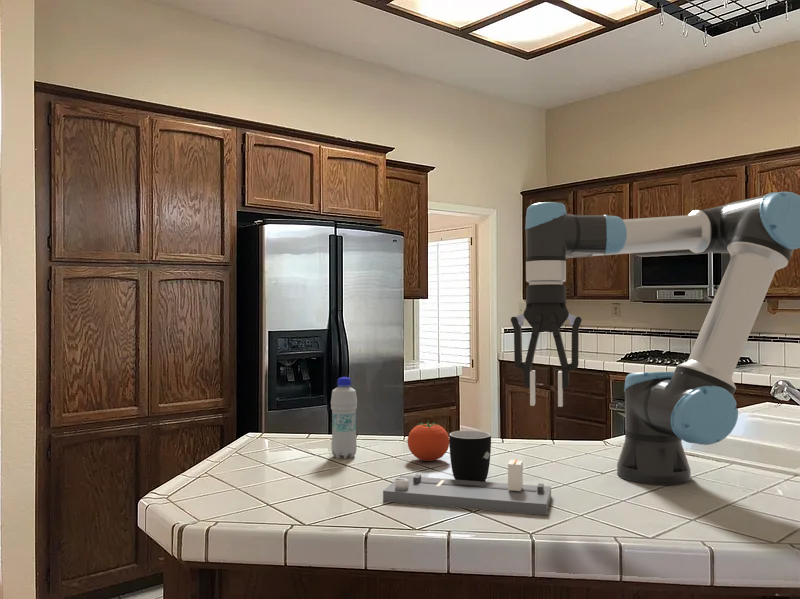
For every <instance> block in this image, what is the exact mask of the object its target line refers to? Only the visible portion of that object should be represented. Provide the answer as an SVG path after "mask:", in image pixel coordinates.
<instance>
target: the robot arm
mask: <svg viewBox="0 0 800 599" xmlns="http://www.w3.org/2000/svg"><path fill="white" fill-rule="evenodd" d="M567 212H568V211H567V208H566V205H565V204H564V203H561V202H557V201H556V202H555V201H544V202H543V201H542V202H536V203H533V204H530V205H529V206H528V207H527V209H526V216H525V227H524V230H525V249H526V250H525V253H526V254H525V256H526V257H525V258H526V259H525V282H526V283H528V284H527V286H526V287H525V300H526V301H525V309H524V311H523V313H521V314H518V315H515V316H511V317H510V323H511V326H512V327H513V347H514V348H513V351H514V353H513V354H514V357H513V358H514V359H513V360H514V367H515V368H518V369H520V370H523V379H524V380H523V381H524V382H523V383H524V384H523V385H524V388H529V405H530V407H531V406H532V407H534V406H535V405H536V370H534V369H533V370H532V366H533V361H534V359H535V353H536V349H537V344H538V341H539V336H540V334H541V333H545V332H547V333H552V335H553V338H554V343H555V347H556V352H557V355H558V359H559V364H560V367H561V370H558V372H557V407H560V408H562V407H563V406H564V393H563V392H564V389H565V390H568V389H569V386H570V371H573V370H576V369H578V368H579V356H580V355H579V350H580V349H579V348H580V347H579V339H580V338H579V333H580V332H579V331H580V326H581V324H582V322H583V318H582V316H577V315H573V314H572V313H570V312H569V310H568V308H567V287H566V284H564V283H565V282H566V281H567V259H574V258H587V257H596V256H612V255H613V256H614V255H622V254H623V255H625V254H638V253H639V254H641V253H653V252H654V253H656V252H667V251H668V252H669V251H680V250H683V251H684V250H690V252H692V253H694V254H701V253H702V254H705V253H708V254H709V253H713V254H717V253H718V254H729V255H730V260H729V262H728V265H727V268H726V269H725V271H724V275H723V276H722V279H721V281H720V284H719V286H718V288H717V290H716V293H715V295H714V298H713V300H712V302H711V305H710V307H709V309H708V312H707V315H706V317H705V319H704V322H703V324H702V326H701V327H700V331H699V333H698V336H697V338H696V341H695V343H694V345H693V347H692V350H691V352H690V354H689V357H688V358H687V361H684V362H682V363H679V364H677V365H676V367H675V369H674V371H648V372H631V373H628V374H627V375H626V376H625V379H624V380H625V381H624V388H623V392H624V430H625V431H624V442H623V446H622V448H621V451H620V454H619V457H618V459H617V464H616V466H617V467H616V468H617V469H616V474H617V475H618V477H620V478H623V479H625V480H627V481H631V482H635V483H641V484H647V485H655V486H658V485H659V486H673V485H674V486H675V485H681V484H686V483H688V482H690V481H691V477H692V476H691V475H692V474H691V467H690V464H689V461H688V458H687V456H686V455H687V454H686V453H685V450H684V446H683V442H686V443H687V444H688V443H689V444H697V445H703V446H707V445H714V444H717V443H719V442H721V441H723V440H724V439H726V438H727V437H728V436H730V434H731V433H732V432H733V430H734V428H735V427H736V424H737V422H738V419H739V409H738V408H737V401H736V399H735V397H734V395H735V392H736V390H737V387H736V384H735V383H734V381H733V378H732V377H733V375H734V373H735V370H736V368H737V365H738V362H739V361H740V358H741V356H742V354H743V351H744V349H745V346H746V344H747V342H748V339H749V336H750V334H751V332H752V329H753V327H754V325H755V322H756V319H757V317H758V315H759V312H760V310H761V308H762V305H763V303H764V301H765V298H766V295H767V292H768V290H769V288H770V285H771V284H772V281H773V279H774V276H775V274H776V271H779V270H781V269H783V268H786V267H787V266H788V264H789V262H790V259H791V257H792V254H793V253H794V250H798V249H800V195H799V194H797V193H795V192H792V191H780V192H775V191H774V192H772V191H771V192H769V193H767V194H765V195H761V196H757V197H750V198H746V199H742V200H736V201H733V202H730V203H726V204H723V205H720V206H716V207H710V208H705V209H695V210H691V212H689V213H688V214H686V215H675V216H674V215H672V216H659V217H658V216H657V217H643V218H642V217H641V218H628V219H627V218H625V219H622V217H619V216H617V215H608V214H602V215H601V214H600V215H599V214H598V215H597V214H596V215H595V214H594V215H593V214H590V215H589V214H585V215H584V214H582V215H581V214H570V213H567ZM525 320H526V321H527V323H528V324H529V326H530V327H531V329H532V330H531V334H530V339H529V343H528V348H527V351H526V352H527V353H526V357H525V361H523V337H522V336H523V333H522V332H523V331H522V326H523V325H524V321H525ZM567 320H569V322H568V323H569V326H570V327H572V328H571V362H569V363H568V358H567V354H566V351H565V346H564V342H563V338H562V334H561V328H562V326H563V325H564V324H565V322H566V321H567ZM682 441H683V442H682Z"/></svg>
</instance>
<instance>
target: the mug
mask: <svg viewBox="0 0 800 599" xmlns="http://www.w3.org/2000/svg"><path fill="white" fill-rule="evenodd" d="M448 436H449V457H450V466H451V472H452V476H453V479H454V480H467V481H481V482H487V481H486V480H487V478H488V474H489V470H490V464H491V451H492V435H491V434H490V433H489V432H487V431H481V430H470V429H469V430H456V431H452V432H450V433H448Z"/></svg>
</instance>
